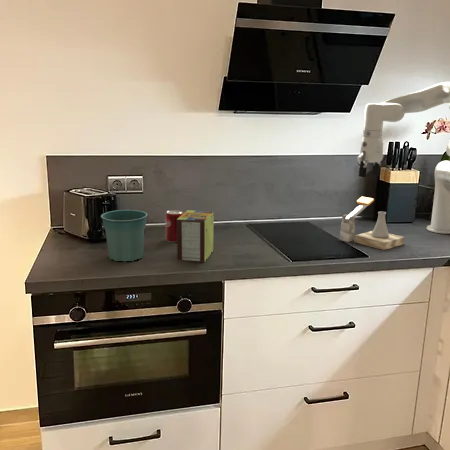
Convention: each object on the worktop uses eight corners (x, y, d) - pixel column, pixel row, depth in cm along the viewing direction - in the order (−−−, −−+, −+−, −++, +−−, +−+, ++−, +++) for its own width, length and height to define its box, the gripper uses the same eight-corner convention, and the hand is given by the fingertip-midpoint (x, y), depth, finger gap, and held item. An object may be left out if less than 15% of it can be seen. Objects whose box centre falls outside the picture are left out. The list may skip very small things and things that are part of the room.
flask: (389, 239, 210) (392, 214, 207) (371, 237, 211) (373, 213, 209) (388, 234, 217) (390, 210, 214) (370, 233, 218) (372, 209, 216)
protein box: (213, 250, 201) (214, 211, 197) (204, 262, 186) (205, 220, 183) (187, 248, 203) (187, 209, 199) (176, 260, 188) (176, 218, 184)
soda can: (165, 243, 210) (164, 214, 207) (166, 238, 217) (166, 210, 214) (183, 243, 210) (183, 214, 207) (184, 238, 217) (183, 210, 214)
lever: (353, 223, 214) (352, 218, 213) (341, 220, 218) (340, 215, 217) (374, 203, 221) (373, 198, 220) (362, 201, 226) (361, 196, 224)
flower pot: (129, 267, 180) (127, 222, 176) (93, 259, 187) (91, 216, 184) (157, 255, 194) (156, 213, 190) (123, 248, 201) (121, 207, 197)
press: (362, 233, 229) (364, 210, 226) (403, 244, 214) (406, 219, 211) (339, 239, 219) (341, 215, 216) (381, 251, 204) (383, 224, 201)
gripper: (367, 135, 207) (364, 178, 211) (392, 134, 218) (388, 175, 222) (352, 134, 212) (349, 176, 216) (376, 132, 223) (373, 173, 227)
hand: (369, 175), depth 219 cm, fingers open, 9 cm apart
